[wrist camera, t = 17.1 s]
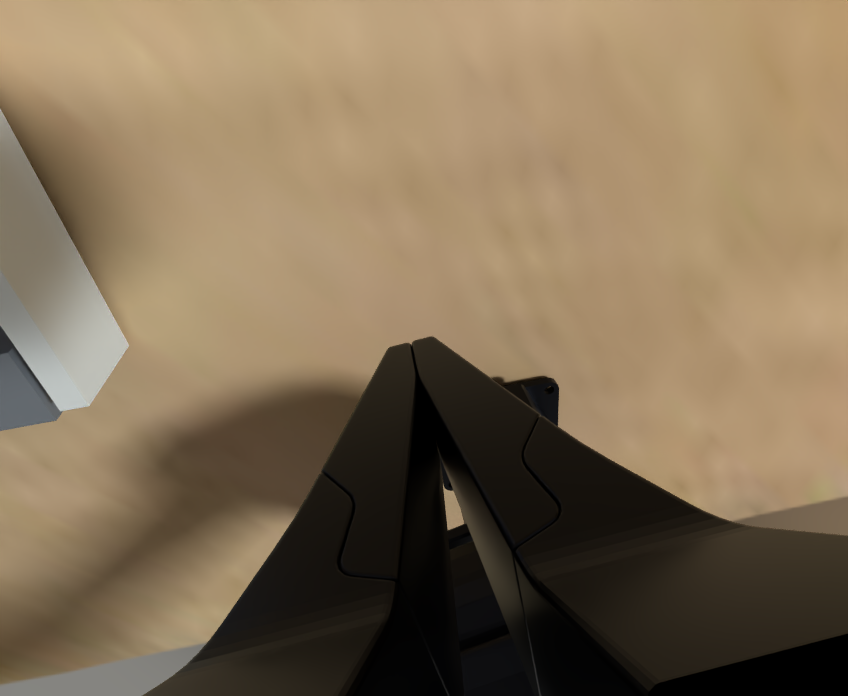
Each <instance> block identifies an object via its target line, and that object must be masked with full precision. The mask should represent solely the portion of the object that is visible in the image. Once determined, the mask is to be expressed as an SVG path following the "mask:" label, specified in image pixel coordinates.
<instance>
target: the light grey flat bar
mask: <svg viewBox="0 0 848 696" xmlns="http://www.w3.org/2000/svg"><path fill="white" fill-rule="evenodd" d="M0 326H1V327H2V329H3V330H4V331H5V333H6V334H7V336H8V337H9V339H10V340H11V342H12V343H13V344H14V346H15V347H16V349H17V350H18V352H19V353H20V354H21V356H22V357H23V359H24V360H25V362H26V363H27V364H28V366H29V367H30V369H31V370H32V372H33V373H34V374H35V376H36V377H37V379H38V380H39V382H40V383H41V384H42V386H43V387H44V389H45V390H46V392H47V393H48V395H49V396H50V397H51V399H52V400H53V402H54V403H55V405H56V406H57V407H58V409H59V410H60V411H65V410H71V409H76V408H82V407H87V406H90V404H91V403H92V401H93V400H94V398H95V396H96V395H97V393H98V392H99V390H100V389H101V387H102V386H103V384H104V383H105V381H106V380H107V378H108V377H109V375H110V374H111V372H112V371H113V369H114V368H115V366H116V365H117V363H118V362H119V360H120V359H121V357H122V356H123V354H124V353H125V351H126V350H127V348H128V346H129V345H128V343H127V341H126V339H125V337H124V335H123V333H122V332H121V330H120V328H119V326H118V324H117V322H116V321H115V319H114V317H113V315H112V313H111V311H110V310H109V308H108V306H107V304H106V302H105V300H104V298H103V297H102V295H101V293H100V291H99V289H98V287H97V286H96V284H95V282H94V280H93V278H92V276H91V275H90V273H89V271H88V269H87V267H86V265H85V264H84V262H83V260H82V258H81V256H80V254H79V252H78V251H77V249H76V247H75V245H74V243H73V241H72V240H71V238H70V236H69V234H68V232H67V230H66V229H65V227H64V225H63V223H62V221H61V219H60V217H59V216H58V214H57V212H56V210H55V208H54V206H53V205H52V203H51V201H50V199H49V197H48V195H47V194H46V192H45V190H44V188H43V186H42V184H41V182H40V181H39V179H38V177H37V175H36V173H35V171H34V170H33V168H32V166H31V164H30V162H29V160H28V159H27V157H26V155H25V153H24V151H23V149H22V147H21V146H20V144H19V142H18V140H17V138H16V136H15V135H14V133H13V131H12V129H11V127H10V125H9V124H8V122H7V120H6V118H5V116H4V114H3V113H2V111H1V109H0Z"/></svg>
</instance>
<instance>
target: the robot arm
mask: <svg viewBox="0 0 848 696" xmlns="http://www.w3.org/2000/svg"><path fill="white" fill-rule="evenodd" d="M549 386H551V387H550V388H549V389H547V390H545V389H546V388H547V387H549ZM558 402H559V387H558V384H557V383H556V381H555V380H554V379H552V378H544V379H538V380H533V381H528V382H523V383H517V384H512V385H507V386H501V385H499V384H498V383H497V382H495V381H494V380H493V379H491V378H490V377H488V376H487V375H486V374H484V373H483V372H482V371H480V370H479V369H477V368H476V367H475V366H473V365H472V364H471V363H469V362H468V361H466V360H465V359H464V358H462V357H461V356H460V355H458V354H457V353H455V352H454V351H453V350H451V349H450V348H448V347H447V346H446V345H444V344H443V343H442V342H440V341H439V340H437V339H436V338H435V337H432V336H431V337H426V338H423V339H419V340H415V341H413V342H412V346H411V344H410V343H404V344H400V345H396V346H392V347H389V348H388V349H387V351H386V353H385V355H384V356H383V358H382V360H381V362H380V364H379V366H378V367H377V369H376V371H375V373H374V375H373V377H372V379H371V380H370V382H369V384H368V386H367V388H366V390H365V391H364V393H363V395H362V397H361V399H360V401H359V402H358V404H357V406H356V408H355V410H354V412H353V413H352V415H351V417H350V419H349V421H348V423H347V424H346V426H345V428H344V430H343V432H342V434H341V435H340V437H339V439H338V441H337V443H336V445H335V446H334V448H333V450H332V452H331V454H330V456H329V458H328V459H327V461H326V463H325V465H324V467H323V469H322V471H321V472H322V473H321V474H319V475H318V477H317V479H316V481H315V483H314V485H313V486H312V488H311V490H310V492H309V494H308V495H307V497H306V499H305V500H304V502H303V504H302V506H301V507H300V509H299V511H298V512H297V514H296V516H295V518H294V519H293V521H292V522H291V524H290V525H289V527H288V528H287V530H286V531H285V533H284V534H283V536H282V537H281V539H280V540H279V542H278V543H277V545H276V546H275V548H274V549H273V551H272V552H271V554H270V555H269V557H268V558H267V559H266V561H265V562H264V564H263V565H262V567H261V568H260V569H259V571H258V572H257V574H256V575H255V577H254V578H253V580H252V581H251V582H250V584H249V585H248V587H247V588H246V590H245V591H244V592H243V594H242V595H241V597H240V598H239V600H238V601H237V603H236V604H235V605H234V607H233V608H232V610H231V611H230V613H229V614H228V615H227V617H226V618H225V620H224V621H223V623H222V624H221V626H220V627H219V628H218V630H217V631H216V632H215V634H214V635H213V636H212V638H211V639H210V640H209V641H208V642H207V644H206V645H205V646H204V647H203V648H202V649H201V650H200V652H199V653H198V654H197V655H196V656H195V657H194V658H193V659H192V660H191V661H190V662H189V663H188V664H187V665H186V666H184V667H183V668H182V669H181V670H179V671H178V672H177V673H176V674H175V675H173V676H172V677H170V678H169V679H167V680H166V681H164V682H163V683H162V684H160V685H158V686H157V687H155V688H154V689H152V690H150V691H149V692H147V693H146V694H144V695H143V696H848V536H846V535H836V534H826V533H815V532H805V531H794V530H784V529H773V528H763V527H754V526H748V525H743V524H739V523H735V522H732V521H729V520H726V519H723V518H720V517H717V516H715V515H713V514H710V513H708V512H705V511H703V510H701V509H699V508H697V507H695V506H693V505H691V504H689V503H688V502H686V501H684V500H682V499H680V498H679V497H677V496H675V495H673V494H671V493H670V492H668V491H666V490H664V489H662V488H660V487H659V486H657V485H655V484H653V483H651V482H650V481H648V480H646V479H644V478H642V477H641V476H639V475H637V474H635V473H633V472H632V471H630V470H628V469H626V468H624V467H623V466H621V465H619V464H617V463H615V462H614V461H612V460H610V459H608V458H607V457H605V456H603V455H602V454H600V453H598V452H596V451H595V450H593V449H591V448H590V447H588V446H586V445H585V444H583V443H581V442H580V441H578V440H577V439H575V438H574V437H572V436H571V435H569V434H568V433H566V432H565V431H564V430H562V429H561V428H559V427H558ZM435 438H436V439H435ZM436 442H437V443H436ZM437 446H438V447H437ZM442 478H443V482H442ZM443 483H444V487H445V489H447V490H450V491H452V490H454V493H455V495H456V498H457V500H458V503H459V506H460V508H461V512H462V516H463V520H464V524H463V525H461V526H458V527H456V528H453V529H451V530H447V521H446V511H445V501H444V492H443Z"/></svg>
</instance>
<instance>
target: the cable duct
mask: <svg viewBox="0 0 848 696" xmlns="http://www.w3.org/2000/svg"><path fill="white" fill-rule="evenodd" d="M62 412H63V411H60V410H59V409H58V407H57V406H56V405H55V403H54V402H53V400H52V399H51V397H50V396H49V395H48V393H47V392H46V390H45V389H44V387H43V386H42V384H41V383H40V382H39V380H38V379H37V377H36V376H35V374H34V373H33V372H32V370H31V369H30V367H29V366H28V364H27V363H26V362H25V360H24V359H23V357H22V356H21V354H20V353H19V352H18V350H17V349H16V347H15V346H14V344H13V343H12V342H11V340H10V339H9V337H8V336H7V334H6V333H5V331H4V330H3V329H2V327H1V326H0V431H2V430H7V429H13V428H18V427H24V426H29V425H34V424H40V423H45V422H50V421H56V420H57V419H58V417H59V416H60V415H61V413H62Z"/></svg>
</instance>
